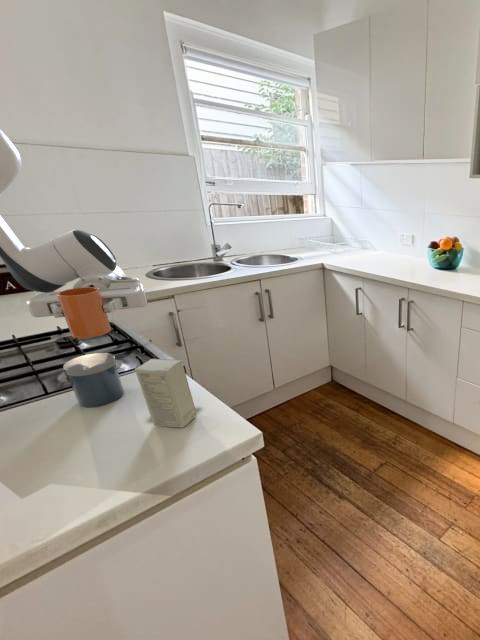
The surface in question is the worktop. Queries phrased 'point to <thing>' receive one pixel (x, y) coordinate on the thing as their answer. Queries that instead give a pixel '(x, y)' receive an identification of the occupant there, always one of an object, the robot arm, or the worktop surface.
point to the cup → (84, 312)
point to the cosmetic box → (166, 392)
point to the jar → (94, 379)
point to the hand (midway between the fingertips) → (83, 311)
